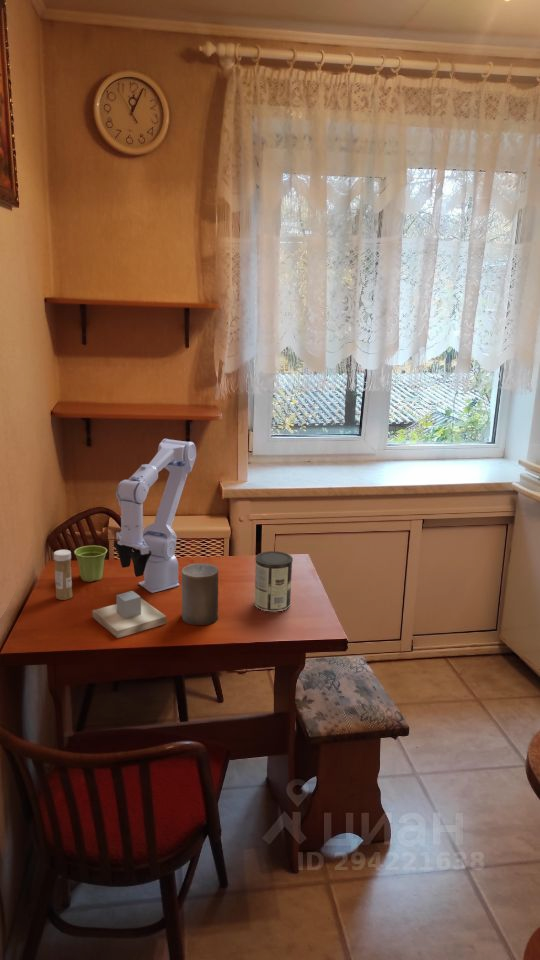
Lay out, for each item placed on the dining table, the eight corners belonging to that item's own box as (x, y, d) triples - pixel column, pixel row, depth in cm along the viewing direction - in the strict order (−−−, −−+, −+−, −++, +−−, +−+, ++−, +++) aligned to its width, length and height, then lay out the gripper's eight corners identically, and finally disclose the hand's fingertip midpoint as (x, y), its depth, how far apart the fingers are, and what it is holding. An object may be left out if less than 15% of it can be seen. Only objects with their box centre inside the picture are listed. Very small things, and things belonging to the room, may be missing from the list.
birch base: (140, 604, 188) (139, 597, 188) (166, 623, 178) (166, 616, 177) (92, 617, 179) (92, 610, 179) (117, 638, 169) (117, 631, 169)
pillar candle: (225, 618, 182) (226, 565, 178) (197, 629, 175) (197, 575, 171) (202, 606, 188) (202, 555, 185) (173, 617, 182) (173, 564, 178)
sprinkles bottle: (74, 598, 190) (73, 553, 187) (58, 601, 188) (56, 556, 184) (69, 592, 194) (67, 547, 190) (53, 595, 191) (51, 550, 188)
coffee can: (271, 593, 198) (273, 548, 195) (297, 605, 191) (300, 558, 188) (246, 604, 191) (247, 556, 187) (273, 616, 184) (275, 567, 180)
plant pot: (82, 570, 209) (82, 544, 207) (112, 573, 208) (111, 546, 206) (70, 582, 200) (69, 555, 198) (100, 585, 199) (100, 557, 197)
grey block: (132, 608, 181) (132, 590, 180) (140, 614, 178) (140, 596, 176) (116, 612, 178) (116, 594, 177) (125, 619, 175) (124, 601, 174)
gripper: (106, 519, 186) (106, 565, 189) (131, 534, 175) (132, 583, 178) (129, 515, 190) (129, 560, 194) (155, 529, 179) (155, 577, 183)
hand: (132, 571), depth 186 cm, fingers open, 7 cm apart
